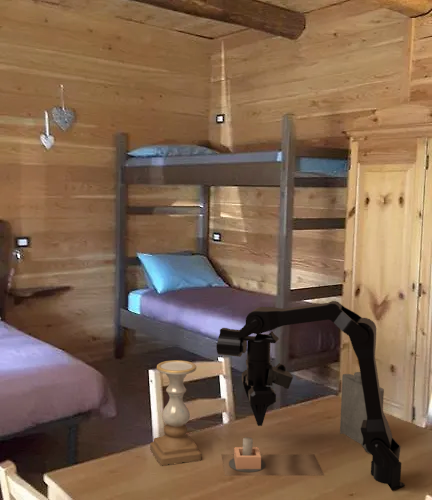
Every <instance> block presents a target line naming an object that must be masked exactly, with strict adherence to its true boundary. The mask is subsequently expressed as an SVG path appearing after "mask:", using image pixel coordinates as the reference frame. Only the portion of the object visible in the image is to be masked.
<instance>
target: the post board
mask: <svg viewBox="0 0 432 500" xmlns="http://www.w3.org/2000/svg"><path fill="white" fill-rule="evenodd" d="M253 442H254V441H253V438H252V437H247V436H246V437H243V438H242V447H243V456H252V447H254V446H253V445H254V443H253ZM260 455H261V469H236V466H235V461H234V454H228V453H227V454H226V453H225V454H223V453H222V454H221V460H222V461H221V462H222V468H223V473H224V474H223V475H224V476H227V477H228V476H229V477H231V476H237V477H238V476H242V477H243V476H244V477H245V476H252V477H253V476H255V477H256V476H325V474H324V472H323V470H322V467H321V465H320V464H319V462H318V459H317V457H316V455H315V454H313V453H310V454H306V453H303V454H302V453H299V454H298V453H297V454H293V453H290V454H288V453H287V454H286V453H285V454H284V453H283V454H282V453H280V454H276V453H275V454H274V453H273V454H272V453H271V454H267V453H265V454H264V453H262V454H261V453H260Z"/></svg>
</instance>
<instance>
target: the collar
mask: <svg viewBox="0 0 432 500" xmlns="http://www.w3.org/2000/svg"><path fill="white" fill-rule="evenodd" d="M233 449H234V450H233V451H234V452H233V453H234V461H235V466H236V469H261V455H260V454H261V452H260V449H259V446H258V447H257V446H253V447H252V456H243V446H240V447H239V446H236V447H234V448H233Z"/></svg>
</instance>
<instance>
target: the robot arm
mask: <svg viewBox="0 0 432 500" xmlns="http://www.w3.org/2000/svg"><path fill="white" fill-rule="evenodd" d="M320 321H331V322H332V323H333V324H334V325H335V326H337V328H339V330H340V331H342V333H344V334H345V335H346V336H348V338H349V341H350V343H351V347H352V350H353V352H354V354H355V355H356V358H357V361H358V366H359V367H358V368H359V372H360V374H361V380H362V387H363V394H364V400H365V407H366V414H367V420H363V422H362V425H361V428H360V429H361V433H362V436H363V444H362V445H365V444H366V449H367V451H368V452H369V453H368V454H371V455H372V460H371V462H370V463H371V464H370V475H371V476H372V477H373V479H374V480H375V481H376V482H378V483H381V484H384V485H385V484H386V485H388V487H389V489H390V490H391V491H395V490H397V489H401V488H403V487H405V485H406V484H405V483H404V482H402V481H401V476H402V462H401V461H400V454H401V445H400V444H399V443H398V441H396V440H395V438H394V437H393V433H392V430H391V427H390V425H389V421H388V419H387V418H386V415H385V412H384V406H383V407H382V400H381V393H380V388H381V387H380V382H379V375H378V367H377V361H376V345H377V326H376V323H375V322H374V321H373V320H371V319H370V318H368V317H362V316H361V315H360V314H357V313H356V312H354V311H352V310H351V309H349V308H347V307H345V306H344V305H343V304H341V303H340V302H339V301H336V300H331V301H329V302H323V303H316V304H310V305H309V304H308V305H303V306H302V305H301V306H295V307H287V308H279V307H274V306H272V307H271V306H259V307H256V308H255V309H254V310H251V311H250V312H249V313H248V314H247V316H246V317H245V324H244V325H243V327H242V328H240V329H236V328H235V329H233V328H228V327H221V328H220V329H219V335H218V338H217V342H216V353H217V355H219V356H229V357H238V358H239V357H240V358H241V357H242V355H243V354H246V352H247V355H246V357H247V358H246V360H245V365H246V369H245V370H244V371H243V372H242V373H241V381H242V387H243V390H244V392H245V395H246V397H247V400H248V403H249V406H250V408H251V410H252V411H251V412H252V414H253V416H254V419H255V422H256V425H257V426H258V427H262V426H263V424H264V421H265V417H266V413H267V410H268V408H269V407H270V406H271V405H274V403H277V394H276V392H275V390H274V389H273V388H272V386H273V384H275V385H277V386H279V387H283V388H284V389H286V390H287V389H288V390H289V389H290V386H291V383H292V381H293V379H294V376H293V374H292V373H291V372H290V371H288V370H286V366H285V364H282V363H278V364H276V366H273V365H272V363H271V344H276V343H277V342H278V341H279V340H280V338H279V337H278V336H277V335H276V334H275V333H274V331H272V330H276V329H278V328H280V327H284V326H290V325H298V324H305V323H307V324H308V323H313V322H320ZM269 331H270V332H269ZM267 332H269V333H268V334H267ZM253 334H254V336H253ZM362 445H361V446H362Z"/></svg>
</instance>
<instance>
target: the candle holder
mask: <svg viewBox="0 0 432 500" xmlns="http://www.w3.org/2000/svg"><path fill="white" fill-rule="evenodd" d="M156 370H157V371H158V372H159V373H161V374H165V376H166V377H167V378H168V381H169V384H168V386H167V387H166V389H165V391H166V393H167V395H168V397H169V399H168V402H167V404H166V405H165V407H164V408H163V410H162V412H161V420H162V421H163V422H164V424H165V426H164V427H163V432H164V435H163V436H158V437H154V438H153V441H151V442H150V444H149V446H150V447H149V450H151V451H150V452H151V454H152V453H153V454H152V455H153V457H154V456H155V457H154V458H155V460H156V459H157V460H156V462H159V463H160V464H159V463H158V464H159V465H160V466H161V465H165V466H169V465H168V464H173V465H175V464H174V463H180V464H183V463H182V462H187V463H191V462H190V461H195V462H199V461H198V460H200V461H201V460H202V452H201V451H200V450H199V449H198V445H197V444H196V442H195V441H194V440H193V439H192V438H191V437H190V436H189V435H188V434H187V433H188V426H187V425H186V424H187V423H188V422H189V421H190V419H191V418H190V417H191V413H190V411H189V408H188V407H187V405H186V404H185V402H184V399H183V397H184V394H185V393H186V392H187V388H186V387H185V384H184V380H185V378H186V376H187V375H189V374H192V373H194V372H195V371H196V370H197V365H196V364H195V363H194V362H191V361H187V360H181V359H178V360H177V359H176V360H174V359H173V360H165V361H161V362H159V363H158V364H156Z"/></svg>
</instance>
